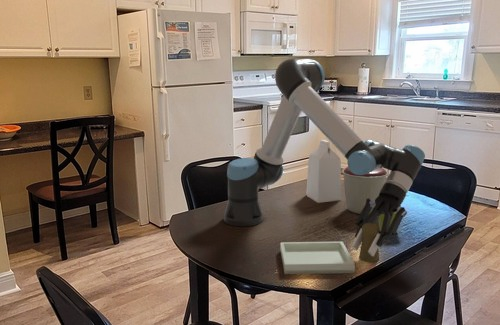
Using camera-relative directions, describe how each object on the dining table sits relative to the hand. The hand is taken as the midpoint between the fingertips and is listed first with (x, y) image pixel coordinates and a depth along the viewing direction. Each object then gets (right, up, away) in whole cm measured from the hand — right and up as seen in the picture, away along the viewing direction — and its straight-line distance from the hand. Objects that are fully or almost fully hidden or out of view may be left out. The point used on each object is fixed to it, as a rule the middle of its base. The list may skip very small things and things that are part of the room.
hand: (362, 251), depth 132 cm
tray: (-14, -3, +1) cm, 15 cm away
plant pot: (+16, +2, +25) cm, 29 cm away
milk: (-1, +11, +66) cm, 66 cm away
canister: (+12, +7, +47) cm, 49 cm away
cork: (+3, -3, +3) cm, 5 cm away
